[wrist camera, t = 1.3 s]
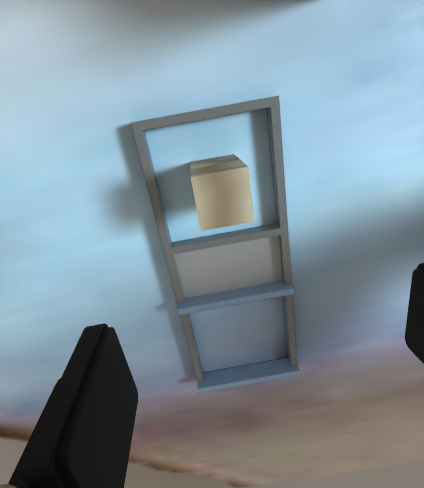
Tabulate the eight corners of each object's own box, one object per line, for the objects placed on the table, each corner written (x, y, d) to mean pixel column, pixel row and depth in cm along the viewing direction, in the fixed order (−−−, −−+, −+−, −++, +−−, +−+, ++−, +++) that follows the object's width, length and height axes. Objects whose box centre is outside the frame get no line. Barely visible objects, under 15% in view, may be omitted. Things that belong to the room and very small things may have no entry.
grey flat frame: (274, 96, 28) (281, 95, 26) (294, 360, 42) (300, 374, 40) (133, 122, 28) (128, 123, 26) (198, 378, 42) (198, 393, 40)
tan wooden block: (233, 154, 30) (248, 166, 23) (239, 197, 32) (254, 221, 25) (190, 162, 30) (190, 177, 23) (198, 204, 32) (201, 230, 25)
